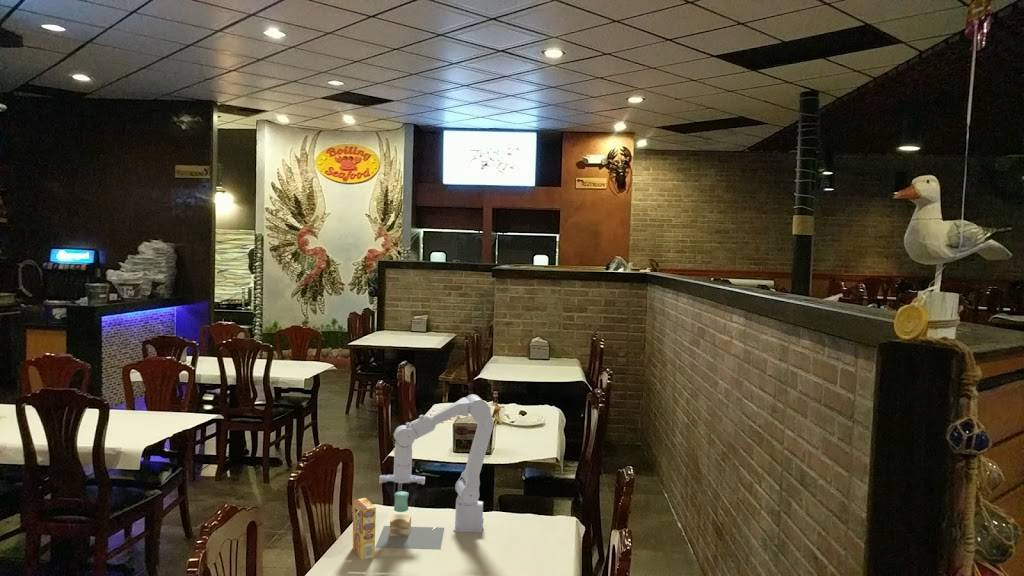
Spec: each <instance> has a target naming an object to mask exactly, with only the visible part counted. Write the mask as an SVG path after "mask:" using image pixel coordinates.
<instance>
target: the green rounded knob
mask: <svg viewBox="0 0 1024 576" xmlns="http://www.w3.org/2000/svg"><path fill="white" fill-rule="evenodd" d="M408 499H409V491H395V494H394V506H393V510H394V511H395V512H398V513H403V512H408V510H409V506H408Z"/></svg>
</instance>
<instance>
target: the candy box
mask: <svg viewBox="0 0 1024 576" xmlns="http://www.w3.org/2000/svg"><path fill="white" fill-rule="evenodd" d="M352 509H353V511H352V514H353V515H352V524H353V525H352V550H353V551H354V552H355V553H356V554H357V556H358V557H359V558H360V559H361V561H362V560H363V561H364V560H367V559H372V558H375V556H376V555H375V553H376V552H375V551H376V550H375V549H376V548H375V547H376V519H377V517H376V514H377V512H376V509H377V507H376V506H375V504H373V503H372V502H370V500H369V499H367V498H366V497H362V498H358V499H354V500H353V507H352Z"/></svg>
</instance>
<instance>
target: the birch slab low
mask: <svg viewBox="0 0 1024 576" xmlns="http://www.w3.org/2000/svg"><path fill="white" fill-rule="evenodd" d="M411 527H412V522H411V523H410V527H409V529H390V536H409V533H410V529H411Z"/></svg>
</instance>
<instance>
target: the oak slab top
mask: <svg viewBox="0 0 1024 576" xmlns="http://www.w3.org/2000/svg"><path fill="white" fill-rule="evenodd" d="M410 523H411V524H412V514H392V516H391V518H390V521H389V526H390V529H409V527H410Z"/></svg>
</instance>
